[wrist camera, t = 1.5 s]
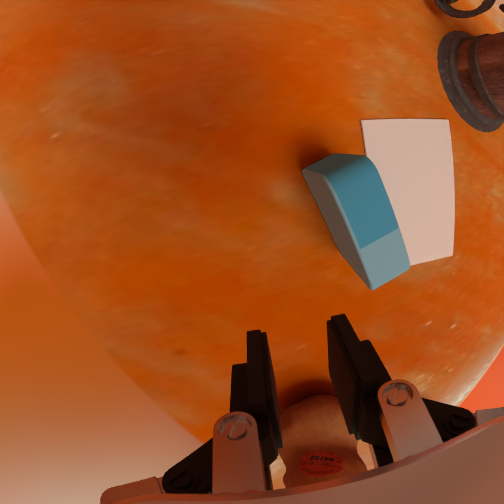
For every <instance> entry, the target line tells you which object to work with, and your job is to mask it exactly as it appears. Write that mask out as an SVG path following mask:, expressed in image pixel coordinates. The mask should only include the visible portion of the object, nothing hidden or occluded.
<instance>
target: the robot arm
mask: <svg viewBox="0 0 504 504" xmlns="http://www.w3.org/2000/svg"><path fill="white" fill-rule="evenodd" d="M327 337H328V362H329V373H330V377H331V380H332V383H333V386H334V389H335V392H336V395H337V398H338V401H339V404H340V407H341V410H342V413H343V417H344V420H345V423H346V426H347V429H348V432H349V434H350V435H351V434H354V435H355V439H356V440H360V439H362V441H364V442H366V443H369V449H370V452H371V456H372V460H373V463H374V467H375V469H372V470H369V471H366V472H362V473H358V474H355V475H351V476H347V477H343V478H339V479H335V480H330V481H325V482H320V483H315V484H310V485H304V486H298V487H292V488H285V489H277V490H273V485H272V478H271V471H270V464H271V463H273V462H274V461H275V460H276V459H277V456H278V449H280V448H283V442H282V433H281V425H280V416H279V408H278V399H277V391H276V383H275V377H274V372H273V366H272V361H271V356H270V350H269V345H268V340H267V335H266V332H262V333H261V330H260V329H259V330H253V331H247V363H242V364H235V365H233V366H232V377H231V397H230V413H227V414H225V415H223V416H222V417H220V418H219V419H218V420H217V422H216V423H215V425H214V429H213V438H211V439H210V440H209V441H208V442H206V443H205V444H204V445H202V446H201V447H200V448H198V449H197V450H196V451H194V452H193V453H191V454H190V455H189V456H187V457H186V458H184V459H183V460H182V461H180V462H179V463H177V464H176V465H174V466H173V467H171V468H170V469H169V470H168V471H167V472H165V474H164V476H163V477H160V478H156V477H155V476H154V477H151V478H147V479H144V480H140V481H136V482H132V483H129V484H124V485H121V486H116V487H111V488H109V489H107V490H106V491H104V492H103V493H102V496H101V498H100V504H504V407H501V408H493V409H485V410H476V413H471V412H470V411H469V410H467V409H464V408H461V407H457V406H452V405H448V404H444V403H440V402H436V401H433V400H429V399H425V398H421V396H420V394H419V392H418V390H417V388H416V387H415V386H414V385H413V384H412V383H410V382H409V381H406V380H400V379H396V380H392V379H391V377H390V376H389V374H388V372H387V370H386V368H385V367H384V365H383V363H382V361H381V360H380V358H379V356H378V354H377V352H376V351H375V349H374V347H373V346H372V344H371V342H370V341H369V340H364V341H359V339H358V337H357V335H356V333H355V331H354V330H353V328H352V326H351V324H350V322H349V320H348V319H347V317H346V315H345V314H340V315H335V316H331V320H328V321H327Z"/></svg>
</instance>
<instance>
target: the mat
mask: <svg viewBox="0 0 504 504" xmlns="http://www.w3.org/2000/svg"><path fill="white" fill-rule="evenodd" d="M360 122H361V128H362V135H363V142H364V149H365V156H366V157H368V158H369V159H370V160H371V161H372V162H373V163H374V165H375V166H376V168H377V170H378V172H379V174H380V177H381V179H382V182H383V184H384V187H385V190H386V192H387V195H388V197H389V200H390V203H391V205H392V208H393V211H394V214H395V217H396V220H397V222H398V225H399V228H400V231H401V234H402V238H403V241H404V244H405V247H406V250H407V254H408V257H409V261H410V265H415V264H419V263H423V262H427V261H432V260H436V259H440V258H444V257H448V256H452V255H453V244H454V217H455V196H454V170H453V156H452V145H451V135H450V127H449V120H444V119H377V120H360Z"/></svg>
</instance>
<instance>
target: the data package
mask: <svg viewBox="0 0 504 504" xmlns="http://www.w3.org/2000/svg"><path fill="white" fill-rule="evenodd" d="M302 174H303V177H304V179H305V181H306V183H307V185H308V187H309V189H310V191H311V193H312V195H313V197H314V199H315V201H316V203H317V205H318V207H319V209H320V212H321V214H322V216H323V218H324V220H325V222H326V224H327V226H328V229H329V231H330V233H331V235H332V237H333V239H334V242H335V244H336V246H337V248H338V250H339V252H340V253H341V255H342V256H343V257H344V259H345V260H346V261H347V262H348V263H349V265H350V266H351V267H352V268H353V269H354V271H355V272H356V273H357V274H358V275H359V277H360V278H361V279H362V280H363V282H364V283H365V284H366V285H367V286H368V288H369V289H371V290H374V289H376V288H378V287H380V286H381V285H383V284H385V283H387V282H388V281H390V280H392V279H394V278H395V277H397V276H399V275H400V274H402V273H404V272H405V271H407V270H408V269H409V268H410V261H409V257H408V254H407V250H406V247H405V244H404V241H403V238H402V234H401V231H400V228H399V225H398V222H397V220H396V217H395V214H394V211H393V208H392V205H391V203H390V200H389V197H388V195H387V192H386V190H385V187H384V184H383V182H382V179H381V177H380V174H379V172H378V170H377V168H376V166H375V165H374V163H373V162H372V161H371V160H370V159H369V158H368V157H366V156H364V155H352V154H338V153H334V154H332V155H329V156H327V157H325V158H323V159H321V160H319V161H317V162H315V163H313V164H311V165H309V166H307V167H305V168H303V169H302Z"/></svg>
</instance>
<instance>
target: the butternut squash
mask: <svg viewBox="0 0 504 504" xmlns="http://www.w3.org/2000/svg"><path fill="white" fill-rule="evenodd" d="M279 416H280V425H281V433H282V442H283V448H280V449H278V453H279V455H280V457H281V458H282V460H283V462H284V464H285V466H286V472H285V474H284V477H283V482H284V485H285V487H286V488H292V487H298V486H304V485H310V484H315V483H320V482H325V481H330V480H335V479H339V478H343V477H347V476H351V475H355V474H358V473H362V472H366V471H367V468H366V466H365V464H364V462H363V461H362V459H361V458H360V457H359V455H358V453H357V442H358V440H356V439H355V435H354V434H351V435H350V434H349V432H348V429H347V426H346V423H345V420H344V417H343V413H342V410H341V407H340V404H339V401H338V398H337V397H336V396H332V395H328V394H320V395H314V396H311V397H308V398H306V399H304V400H302V401H300V402H297V403H295V404H293V405H290V406H288V407H287V409H286V410H285V411H284V412H283V413H281V414H280V415H279Z"/></svg>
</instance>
